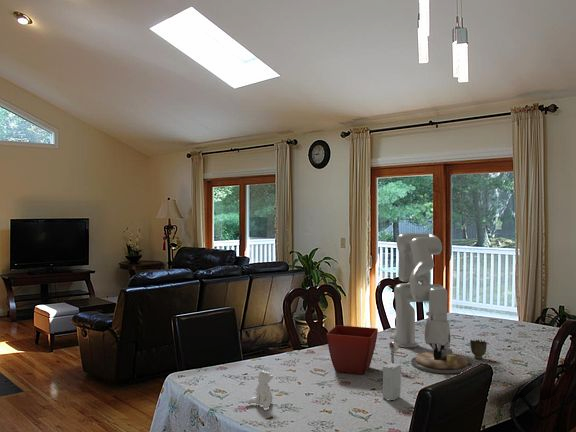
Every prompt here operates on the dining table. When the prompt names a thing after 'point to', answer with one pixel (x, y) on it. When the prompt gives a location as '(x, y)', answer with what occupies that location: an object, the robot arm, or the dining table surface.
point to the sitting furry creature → (262, 390)
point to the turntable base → (439, 371)
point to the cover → (446, 353)
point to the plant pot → (351, 348)
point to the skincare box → (391, 381)
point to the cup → (478, 348)
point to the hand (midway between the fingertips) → (437, 359)
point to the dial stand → (393, 347)
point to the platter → (441, 361)
